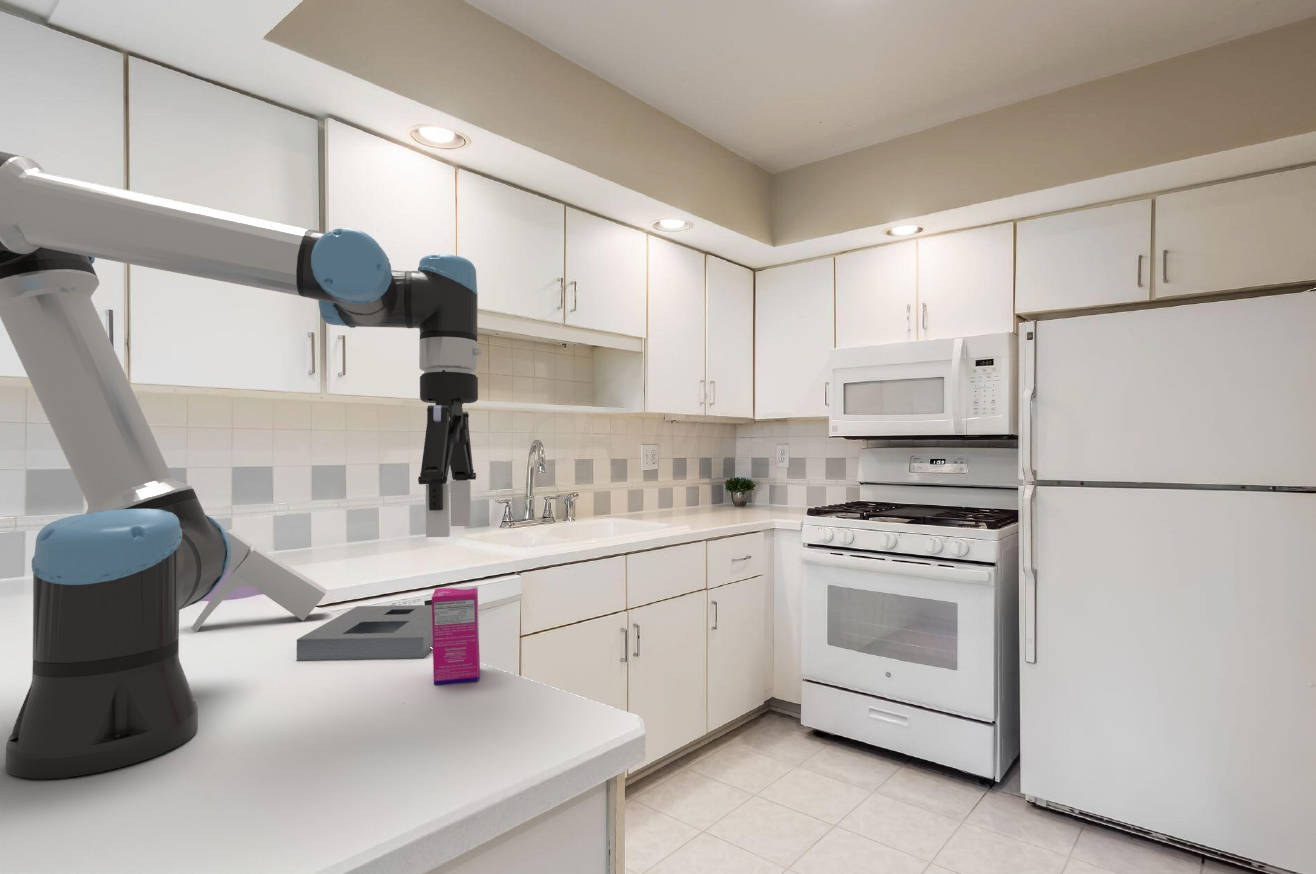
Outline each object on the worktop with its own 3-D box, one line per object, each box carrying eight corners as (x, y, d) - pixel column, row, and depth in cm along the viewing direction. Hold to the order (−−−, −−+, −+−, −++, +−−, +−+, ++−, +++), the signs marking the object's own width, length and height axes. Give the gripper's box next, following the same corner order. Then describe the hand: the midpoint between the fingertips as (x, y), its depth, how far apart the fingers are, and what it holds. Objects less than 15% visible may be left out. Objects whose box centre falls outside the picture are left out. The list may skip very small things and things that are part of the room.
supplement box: (435, 672, 93) (435, 587, 94) (480, 668, 95) (480, 584, 95) (431, 686, 88) (431, 595, 88) (479, 682, 89) (479, 592, 89)
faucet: (326, 593, 124) (226, 527, 118) (260, 672, 119) (151, 608, 113) (326, 587, 130) (230, 524, 123) (262, 662, 125) (159, 601, 118)
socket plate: (423, 658, 100) (423, 637, 100) (296, 660, 99) (296, 639, 99) (460, 621, 122) (460, 604, 122) (357, 623, 121) (357, 606, 121)
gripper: (457, 360, 81) (458, 541, 80) (492, 382, 106) (493, 521, 105) (392, 360, 80) (392, 543, 80) (442, 383, 105) (443, 522, 105)
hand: (450, 531), depth 93 cm, fingers open, 13 cm apart
